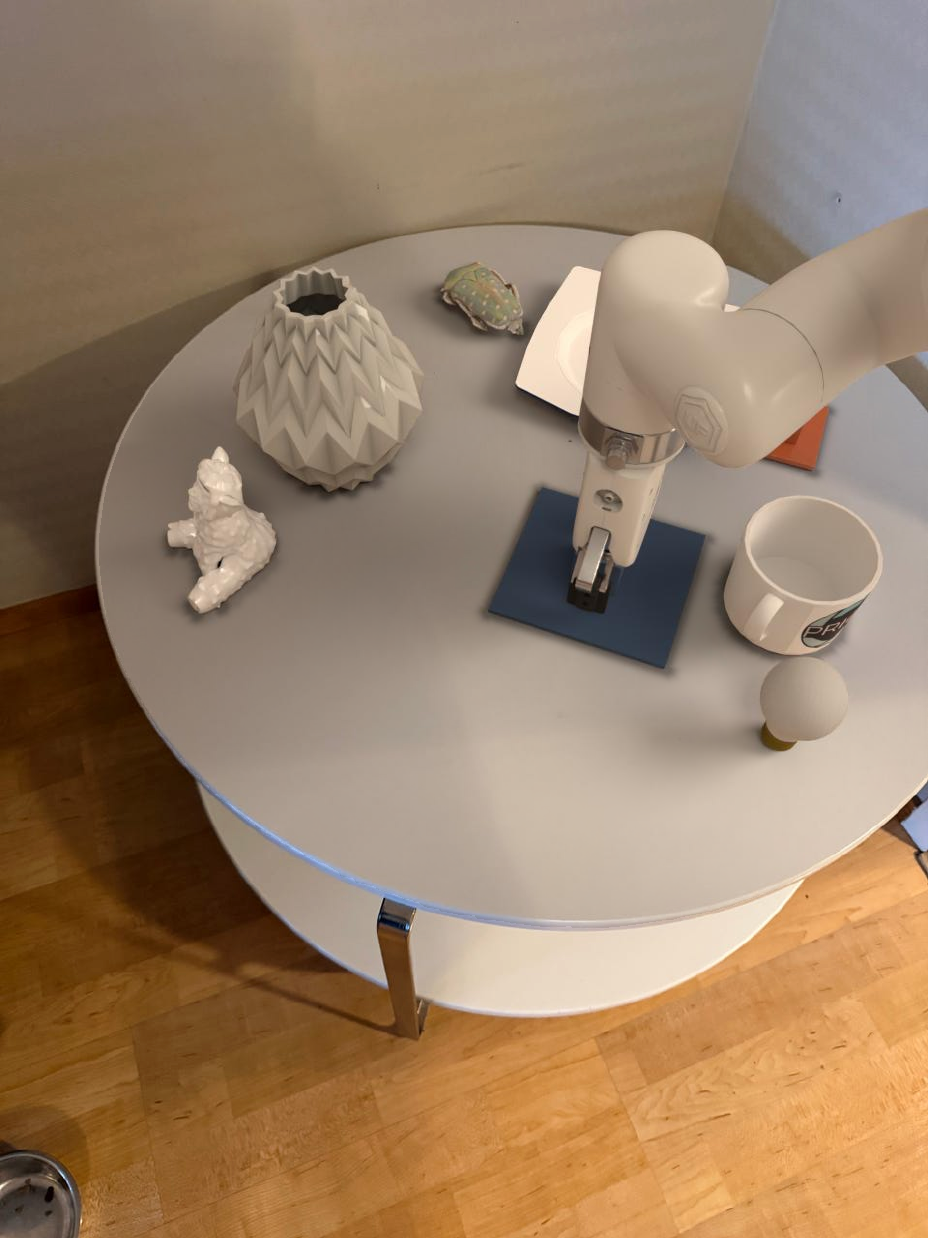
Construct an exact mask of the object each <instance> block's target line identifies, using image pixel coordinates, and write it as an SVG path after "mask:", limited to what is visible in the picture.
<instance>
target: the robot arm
mask: <svg viewBox="0 0 928 1238" xmlns="http://www.w3.org/2000/svg"><path fill="white" fill-rule="evenodd" d="M600 272H601V275H600V280H599V285H598V291H597V298H596V305H595V311H594V318H593V325H592V332H591V338H590V345H589V352H588V358H587V365H586V372H585V379H584V386H583V392H582V399H581V405H580V412H579V419H577V420H578V421H577V432H578V435H579V438H580V440H581V442H582V444H583V445H584V447H585V448H586V449H587V450H588V451H587V455H586V459H585V465H584V471H583V472H582V482H581V485H580V486H581V487H580V491H579V497H578V498H579V501H578V507H577V513H576V519H575V525H574V532H573V546H574V549H575V550H576V551H577V552H579V555H578V558H577V561H576V565H575V568H574V570H573V571H572V573H571V577H570V583H569V589H568V595H567V602H568V603H569V604H571V605H574V606H576V607H577V608H579V609H581V610H584V611H587V612H591V611H593V612H597V613H600V614H603V613H605V610H606V607H607V603H608V599H609V595H610V591H611V587H612V583H613V582H611V581H610V577H611V573H612V570H613V567H614V564H616V565H619V566H624V567H628V566H630V565H631V564H633V563H634V561H635V559H636V557H637V554H638V551H639V549H640V546H641V543H642V540H643V538H644V535H645V532H646V529H647V526H648V524H649V521H650V519H652V515H653V512H654V509H655V506H656V503H657V501H658V497H659V493H660V490H661V487H662V483H663V481H664V480H663V479H664V475H665V469H666V466H667V463H670V461H672V460H674V459H675V458H676V457H677V456H679V454H680V453H681V451H682V450H683V448H684V447H685V443H686V444H687V445H689V447H691V449H692V450H693V451H694V452H696V453H697V454H698V455H699V456H701V457H702V458H703V459H705V460H706V461H708V462H710V463H712V464H714V465H716V466H719V467H722V468H727V469H741V468H746V467H749V466H752V465H753V464H755V463H758V462H759V461H761V460H762V459H764V457H765V456H767V455H768V454H769V453H771V452H772V451H773V450H774V449H775V448H777V447H778V446H779V445H780V444H781V443H783V442H784V441H785V440H786V439H787V438H789V437H790V436H791V435H792V434H793V433H795V432H796V431H797V430H798V429H799V428H801V427H802V426H803V425H804V424H805V423H807V422H808V421H809V420H810V419H811V418H812V417H813V416H814V415H815V414H816V413H818V412H819V411H820V410H821V409H822V408H823V407H825V406H826V407H827V405H829V403H831V402H832V401H833V400H834V399H835V398H837V397H838V396H840V395H841V394H842V393H843V392H845V390H847V389H848V388H849V387H850V386H852V385H853V384H854V383H856V382H857V381H858V380H859V379H861V378H862V377H863V376H865V375H867V374H868V373H869V372H872V371H874V370H876V369H878V368H881V367H882V366H885V365H888V364H890V363H891V364H892V363H894V362H896V361H897V362H898V361H900V360H902V359H905V358H908V357H911V356H915V355H917V354H921V353H925V352H928V206H925V207H922V208H919V209H917V210H914V211H912V212H909V213H906V214H905V215H902V216H899V217H897V218H895V219H893V220H890V221H888V222H886V223H884V224H882V225H880V226H878V227H876V228H874V229H871V230H869V231H867V232H865V233H863V234H861V235H858V236H856V237H854V238H852V239H849V240H847V241H846V242H843V243H841V244H839V245H836V246H835V247H833V248H831V249H829V250H827V251H825V252H823V253H821V254H819V255H817V256H815V257H813V258H811V259H809V260H808V261H806V262H804V263H802V264H800V265H799V266H797V267H795V268H792V270H790V271H789V272H787V273H785V274H784V275H783V276H782V277H780V278H779V279H777V280H776V281H774V282H773V283H771V284H770V285H768V286H767V287H766V288H764V289H762V290H761V291H760V292H759V293H757V294H756V295H754V296H753V297H752V298H751V299H749V300H748V301H747V302H746V303H744V304H742V305H741V306H739V307H740V308H739V309H738V310H736V311H732V312H725V311H724V309H725V305H726V304H727V299H728V295H729V290H730V278H729V272H728V269H727V267H726V263H725V262H724V259H723V258H722V257H721V255H720V254H719V252H718V251H716V250H715V248H714V247H712V246H711V245H709V244H708V243H707V242H706V241H704V240H702V239H700V238H698V237H696V236H694V235H692V234H689V233H685V232H682V231H676V230H669V229H656V230H649V231H643V232H640V233H636V234H633V235H631V236H629V237H627V238H626V239H624V240H622V241H621V242H620V243H618V244H617V245H616V246H615V247H614V248H613V249H612V250H611V251H610V252H609V254H608V256H607V257H606V259H605V261H604V263H603V265H602V267H601V270H600ZM589 539H590V541H589ZM608 540H609V541H610V543H609V550H608V549H606V546H607V543H608ZM588 542H589V544H588ZM579 550H580V551H579ZM602 559H604V560H607V564H606V567H605V570H604V574H603V575H602V574H599V573H598V570H599V567H600V564H601V561H602Z"/></svg>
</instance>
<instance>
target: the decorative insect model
mask: <svg viewBox="0 0 928 1238" xmlns="http://www.w3.org/2000/svg"><path fill="white" fill-rule="evenodd" d="M439 296H440V299H441V300H442V301H443V300H444V302H445V303H447V304H449V305H452V306H454V307H456V304H455V303H457V304H458V306H459V307H460V309H462V311H463V312H464V313H466V315H467V318H470V320H471V322H472V325H473V326H475V327H476V328H478V329H480V330H482V331H484V332H488V331H489V330H488V326H489V327H491V328H493V329H496V330H505V329H506V328H507V330H508V331H509V332H511V333H512V334H513V335H514V334H516V335H518V336H521V335H523V336H524V335H525V333H524V326H523V317H522V316H523V314H524V310H523V308H522V305H521V301H520V294H519V291H518V289H517V286H516V285H515V284H513V283H512V282H509V283H508V282H506V280H505V279H504V277H503V276H502V274H501V273H499V272H498V271H496V270H495V269H492V268H489V267H488V268H487V267H485V265H484V264H482V262H480V261H475V262H473V263H470V264H468V265H463V266H460V267H457V268H455V269H452V270H451V271H449V272H448V274H447V275H446V277H445V278H444V279H443V283H442V287H441V289H440V290H439ZM487 325H488V326H487Z"/></svg>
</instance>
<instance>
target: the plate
mask: <svg viewBox="0 0 928 1238" xmlns="http://www.w3.org/2000/svg"><path fill="white" fill-rule="evenodd" d="M600 275H601V271H600V270H595V269H592V268H587V267H583V266H580V265H577V266H574V267H573V268H572V269H571V271H570V272H569V274H568V275H567V276H566V278H565V279H564V281H563V283H562V284H561V285H560V286H559V288H558V289H557V291H556V293H555V294H554V296H553V298H552V299H551V300H550V301H549V303H548V305H547V306H546V309H545V311H544V312H543V314H542V316H541V317H540V319H539V321H538V323H537V324H536V326H535V329H534V331H533V333H532V335H531V338H530V340H529V342H528V344H527V346H526V349H525V351H524V355H523V358H522V361H521V364H520V366H519V367H520V368H519V370H518V374H517V377H516V380H515V382H514V386H515V388H516V390H517V391H520V392H522V393H523V394H525V395H527V396H529V397H531V398H533V399H535V400H537V401H539V402H541V403H543V404H545V405H547V406H549V407H550V408H553V409H555V410H557V411H559V412H561V413H563V414H564V415H567V416H568V417H571V418H573V419H576V420H579V412H580V405H581V399H582V392H583V386H584V379H585V372H586V365H587V358H588V352H589V345H590V338H591V332H592V325H593V318H594V311H595V305H596V298H597V291H598V285H599V280H600ZM740 307H741V306H737V305H732V304H728V303H726V305H725V309H724V311H725V312H732V311H736V310H738V309H739V308H740Z"/></svg>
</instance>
